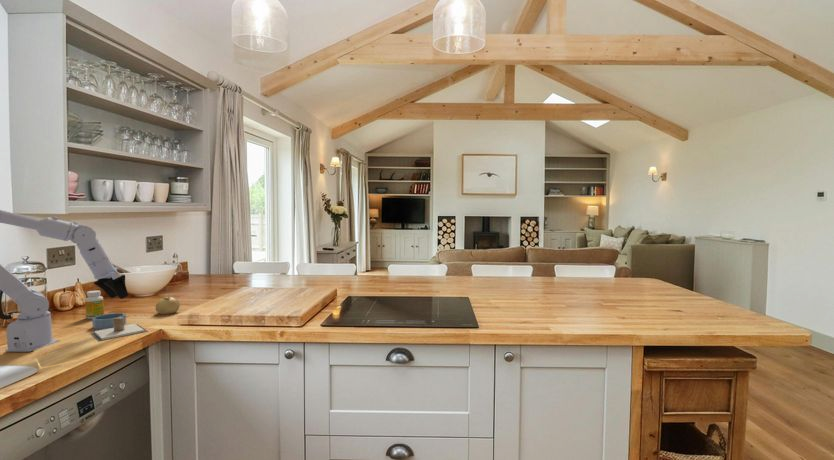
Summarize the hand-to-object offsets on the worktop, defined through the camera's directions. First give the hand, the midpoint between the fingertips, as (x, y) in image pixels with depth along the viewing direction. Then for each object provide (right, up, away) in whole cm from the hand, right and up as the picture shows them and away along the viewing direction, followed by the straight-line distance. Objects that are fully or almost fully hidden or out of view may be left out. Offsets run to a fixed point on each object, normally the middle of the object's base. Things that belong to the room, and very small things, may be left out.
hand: (119, 297), depth 138 cm
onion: (+3, -10, +21) cm, 24 cm away
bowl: (-7, -11, +5) cm, 14 cm away
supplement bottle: (-22, -11, +18) cm, 31 cm away
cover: (+2, -11, -4) cm, 12 cm away
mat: (+2, -11, -4) cm, 12 cm away
